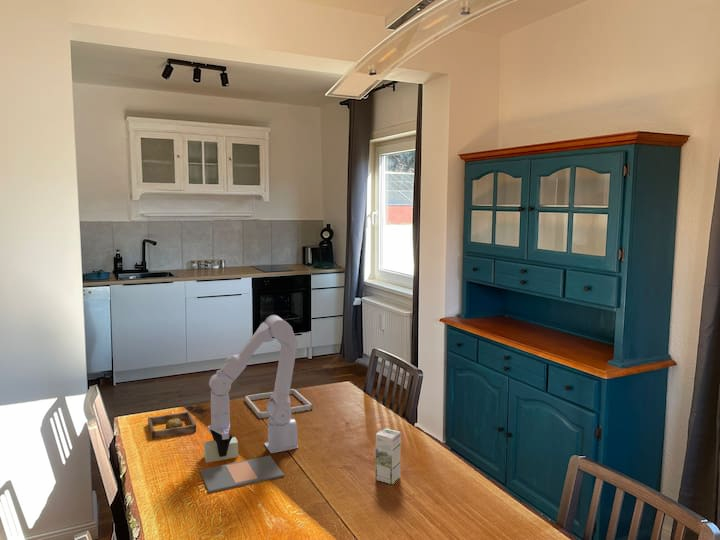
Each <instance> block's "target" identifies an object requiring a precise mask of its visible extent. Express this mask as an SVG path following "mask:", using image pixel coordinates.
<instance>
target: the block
mask: <svg viewBox="0 0 720 540" xmlns="http://www.w3.org/2000/svg"><path fill="white" fill-rule="evenodd" d="M238 441H239V440H238V439H237V437H236V436H234V437H233V436H232V439H231V441H230V443H229V446H228V451H227V455H226V456H223V457H220V456H219V453H218V447H217V443H216V441H215V440H208V441H204V442H203V456H204V461H205V463H206V464H207V463H212V462H217V461H224V460H231V459H236V458H239V442H238Z"/></svg>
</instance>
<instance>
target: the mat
mask: <svg viewBox="0 0 720 540" xmlns="http://www.w3.org/2000/svg"><path fill="white" fill-rule="evenodd" d="M199 472H200V475H201V478H202V480H203V482H204V485H205V487H206V489H207V491H208V493H209V494H211V493H215V492H219V491H224V490H229V489H233V488H238V487H242V486H247V485H252V484H256V483H260V482H265V481H270V480H274V479H278V478H282V477H283V478H284V477H285V473H284V472H283V471H282V469H281V468H280V467H279V466H278V464H277V463H276V462H275V460H274V458H272V456H271V455H267V456H261V457H257V458H251V459H247V460H241V461H236V462H231V463H226V464H222V465H221V464H220V465H216V466H212V467H205V468H200V469H199Z"/></svg>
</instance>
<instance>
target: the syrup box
mask: <svg viewBox="0 0 720 540" xmlns="http://www.w3.org/2000/svg"><path fill="white" fill-rule="evenodd" d="M401 433H402V431H399V430H394V429H390V428H386V427H384V428H382V429H380V430H378V432H376V434H375V477H374V478H375V481H376V480H378V481H377V482H379V481H381V482H380V483H383V482H385V483H384V484H386V483H388V484H387V485H390V484H393V483H394V482H395V481H396V480H397V479H398V478H399V477H400V478H401V447H402V446H401V445H402V444H401V443H402V439H401V437H402V435H401ZM400 478H399V479H400ZM399 479H398V480H399ZM398 480H397V481H398ZM397 481H396V482H397ZM396 482H395V483H396ZM395 483H394V484H395ZM394 484H393V485H394Z"/></svg>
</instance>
